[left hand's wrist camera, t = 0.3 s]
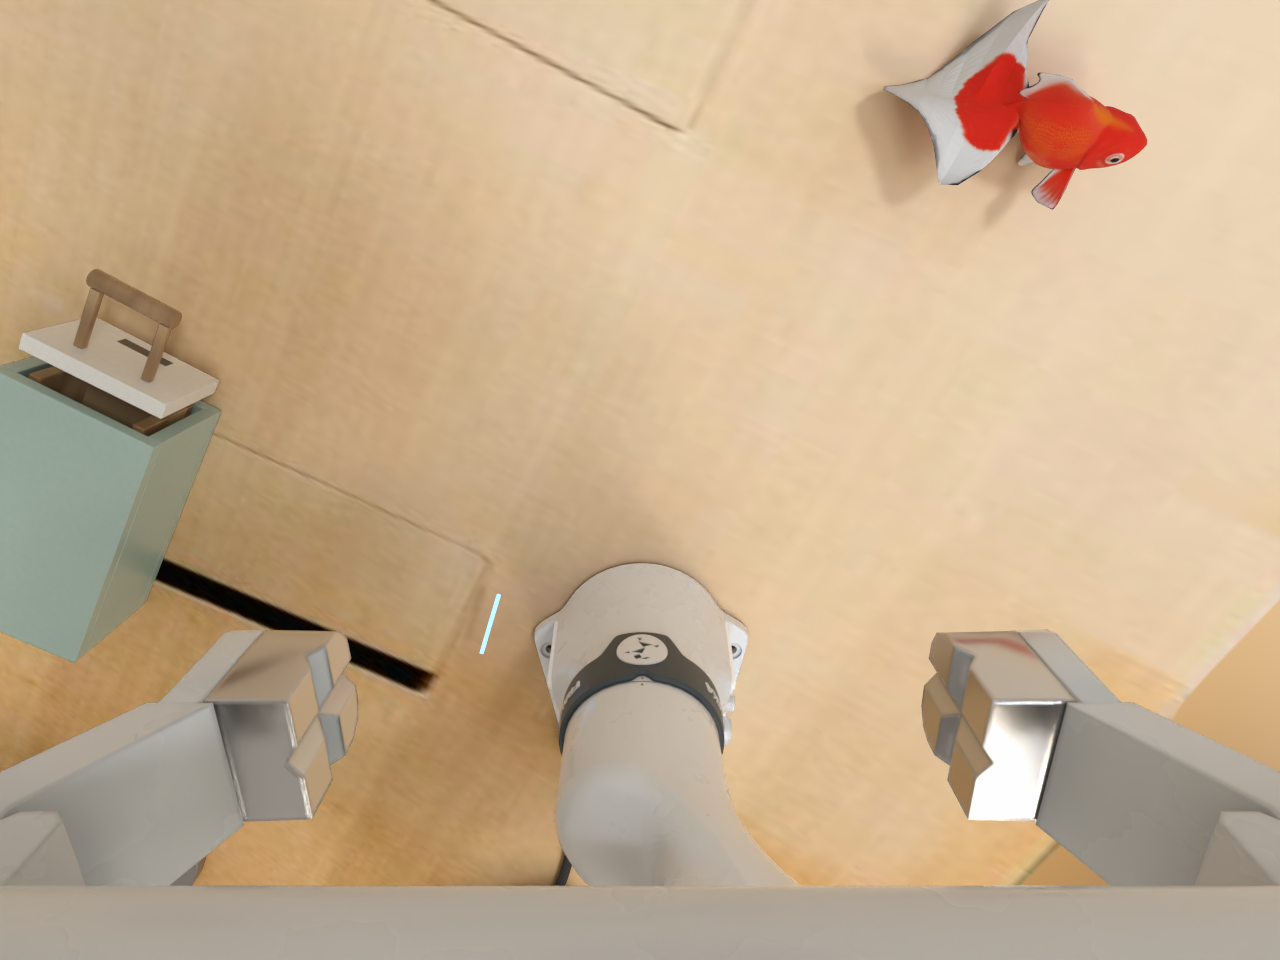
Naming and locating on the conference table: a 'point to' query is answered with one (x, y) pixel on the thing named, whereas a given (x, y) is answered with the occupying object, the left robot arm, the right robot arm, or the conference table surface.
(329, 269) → the conference table surface
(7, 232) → the conference table surface
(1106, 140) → the fish
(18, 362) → the cabinet
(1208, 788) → the left robot arm
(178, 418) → the drawer
